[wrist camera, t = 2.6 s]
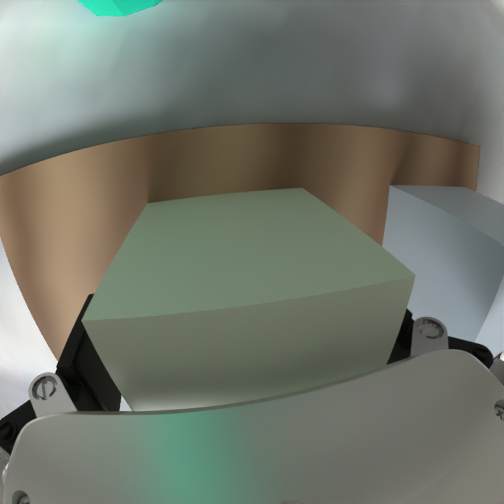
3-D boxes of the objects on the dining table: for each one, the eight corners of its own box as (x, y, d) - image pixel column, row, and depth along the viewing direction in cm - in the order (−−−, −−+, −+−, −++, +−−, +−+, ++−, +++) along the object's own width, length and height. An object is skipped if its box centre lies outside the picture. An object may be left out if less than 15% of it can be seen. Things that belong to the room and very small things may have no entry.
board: (469, 143, 14) (485, 147, 12) (432, 317, 20) (441, 327, 19) (-3, 177, 10) (-19, 184, 9) (74, 372, 17) (70, 387, 15)
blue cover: (464, 187, 14) (558, 234, 7) (444, 278, 17) (514, 341, 10) (389, 185, 13) (511, 250, 6) (372, 295, 16) (446, 388, 9)
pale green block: (302, 187, 12) (415, 275, 5) (298, 310, 16) (355, 429, 8) (147, 203, 12) (81, 320, 4) (174, 326, 15) (170, 461, 8)
